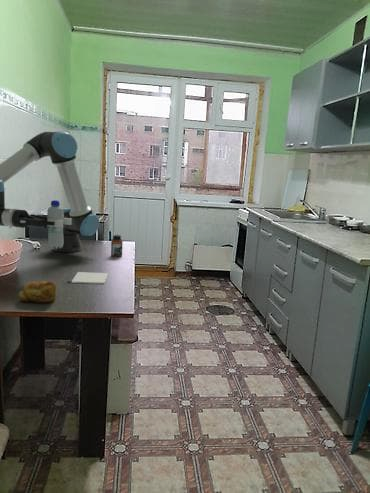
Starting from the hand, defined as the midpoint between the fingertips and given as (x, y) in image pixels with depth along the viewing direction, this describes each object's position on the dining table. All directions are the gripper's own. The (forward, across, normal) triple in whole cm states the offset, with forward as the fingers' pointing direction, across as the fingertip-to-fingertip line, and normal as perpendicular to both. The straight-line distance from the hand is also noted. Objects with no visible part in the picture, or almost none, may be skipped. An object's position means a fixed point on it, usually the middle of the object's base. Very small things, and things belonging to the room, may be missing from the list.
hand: (66, 222), depth 160 cm
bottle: (-5, 0, -11) cm, 12 cm away
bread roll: (+3, +28, -24) cm, 37 cm away
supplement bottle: (+5, -46, -24) cm, 52 cm away
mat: (+9, -3, -24) cm, 25 cm away
